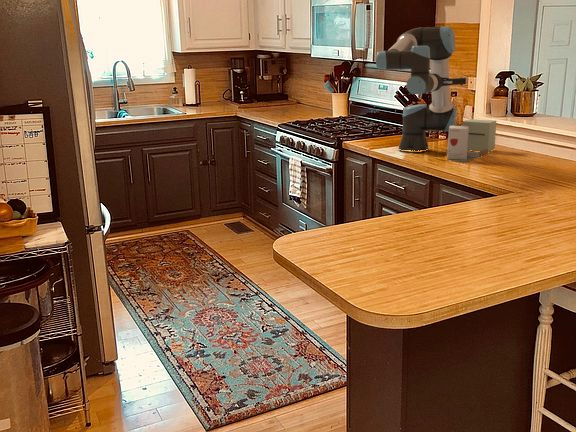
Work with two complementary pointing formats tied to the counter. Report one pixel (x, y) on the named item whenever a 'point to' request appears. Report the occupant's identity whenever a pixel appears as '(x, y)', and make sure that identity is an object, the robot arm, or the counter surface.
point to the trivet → (462, 160)
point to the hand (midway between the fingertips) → (451, 79)
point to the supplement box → (458, 142)
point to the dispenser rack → (480, 136)
